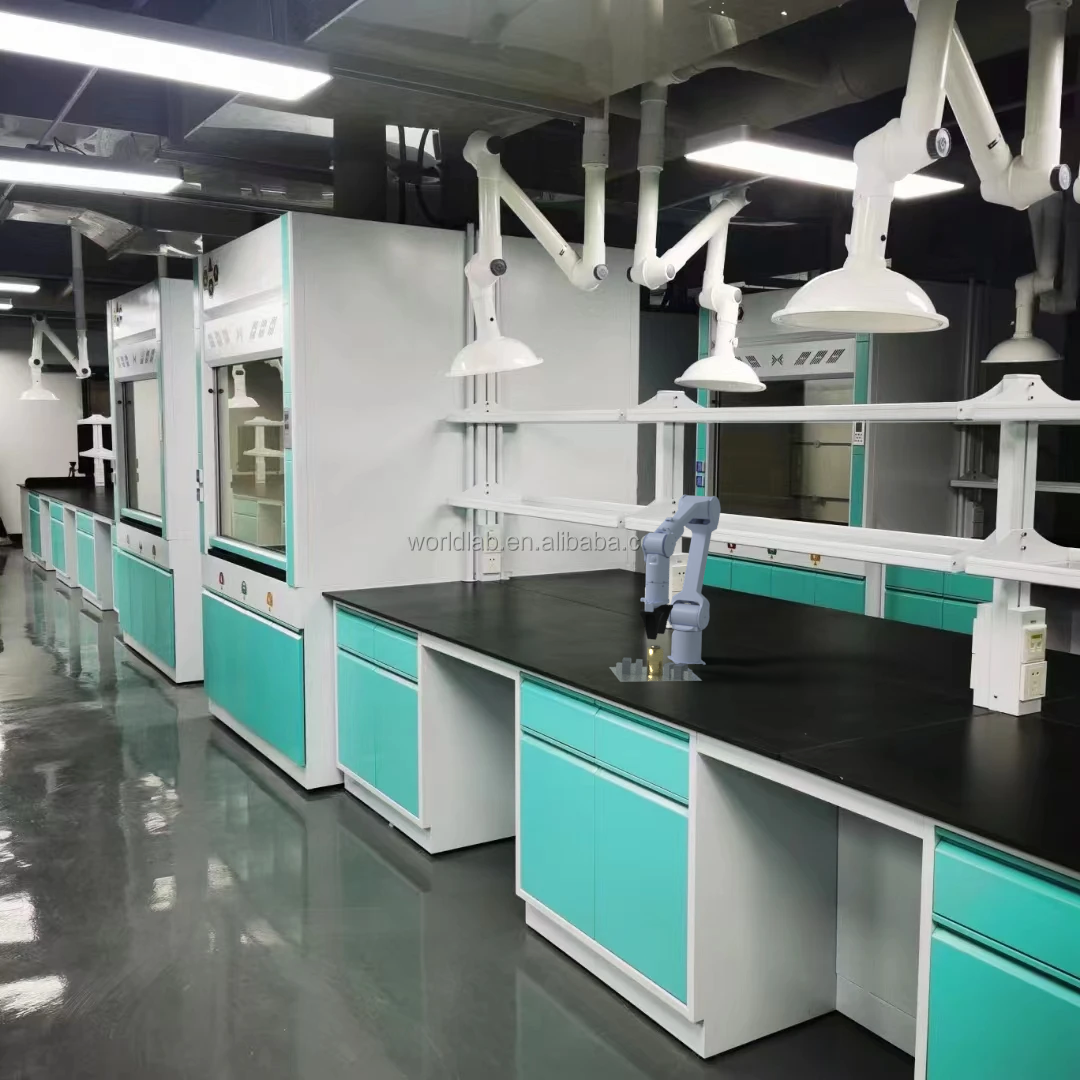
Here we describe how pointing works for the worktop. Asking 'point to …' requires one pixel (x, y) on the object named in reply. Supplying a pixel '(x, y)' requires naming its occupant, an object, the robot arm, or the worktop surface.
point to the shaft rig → (638, 673)
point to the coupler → (655, 660)
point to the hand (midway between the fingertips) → (655, 636)
